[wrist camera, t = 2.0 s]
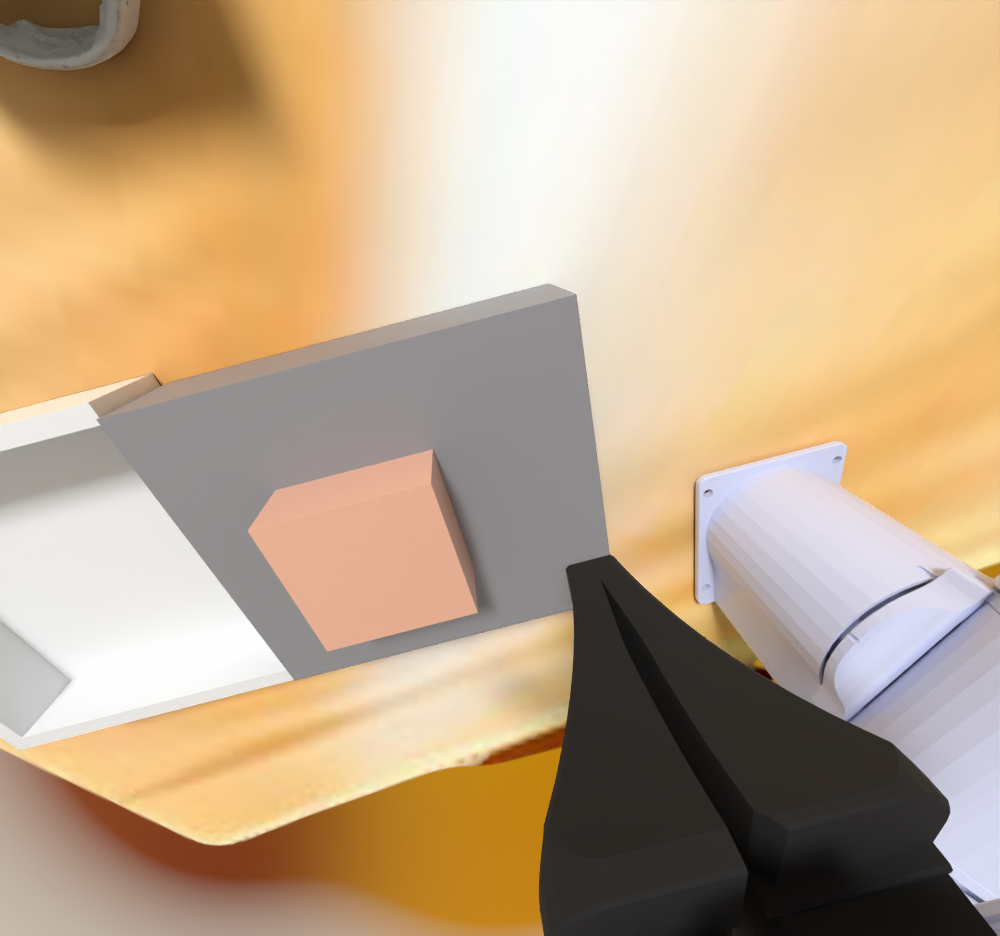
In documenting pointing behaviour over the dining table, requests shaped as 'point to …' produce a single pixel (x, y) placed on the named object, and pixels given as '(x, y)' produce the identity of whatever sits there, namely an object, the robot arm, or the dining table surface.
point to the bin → (103, 585)
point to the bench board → (391, 456)
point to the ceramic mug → (71, 39)
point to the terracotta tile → (369, 551)
